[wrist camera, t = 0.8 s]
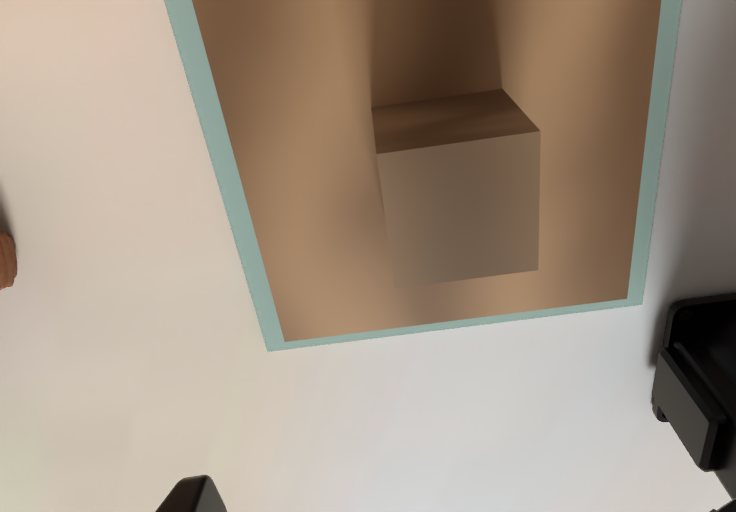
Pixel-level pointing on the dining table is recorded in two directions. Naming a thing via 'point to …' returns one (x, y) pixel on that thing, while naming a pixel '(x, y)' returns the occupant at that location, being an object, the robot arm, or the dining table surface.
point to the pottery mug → (7, 261)
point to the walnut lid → (435, 152)
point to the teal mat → (250, 256)
